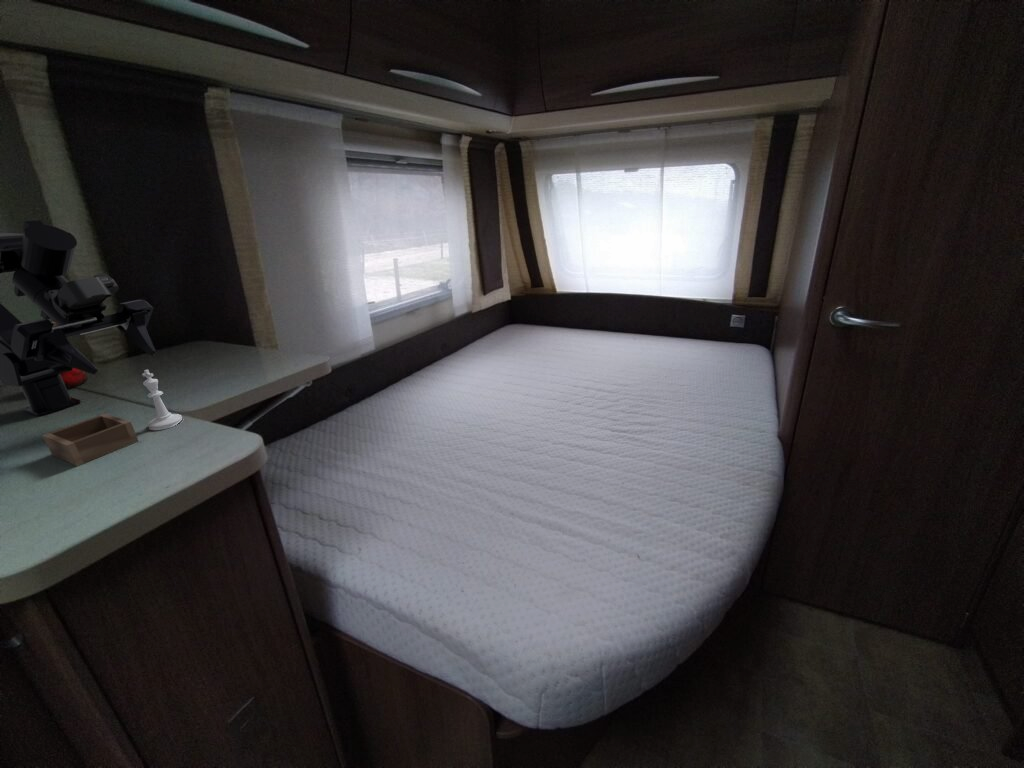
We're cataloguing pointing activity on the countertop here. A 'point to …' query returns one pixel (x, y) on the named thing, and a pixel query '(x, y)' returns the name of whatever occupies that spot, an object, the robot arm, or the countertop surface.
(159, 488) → the countertop surface
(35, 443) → the countertop surface
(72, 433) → the walnut collar
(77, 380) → the red clay folk toy
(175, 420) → the chess piece
